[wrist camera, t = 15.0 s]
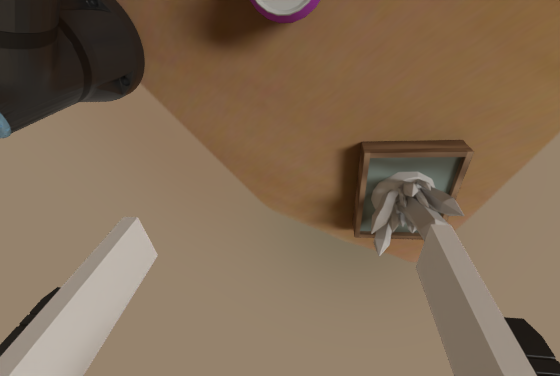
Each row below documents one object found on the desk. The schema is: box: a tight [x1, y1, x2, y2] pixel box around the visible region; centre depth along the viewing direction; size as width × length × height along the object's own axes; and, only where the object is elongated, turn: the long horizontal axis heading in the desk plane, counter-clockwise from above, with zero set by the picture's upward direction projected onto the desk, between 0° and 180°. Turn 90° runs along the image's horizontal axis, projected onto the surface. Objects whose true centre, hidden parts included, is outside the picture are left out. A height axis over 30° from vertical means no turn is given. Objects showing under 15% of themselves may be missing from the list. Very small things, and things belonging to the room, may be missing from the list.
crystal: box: [371, 172, 464, 256], centre depth 38 cm, size 10×13×15 cm
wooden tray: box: [353, 140, 474, 240], centre depth 44 cm, size 18×15×4 cm
